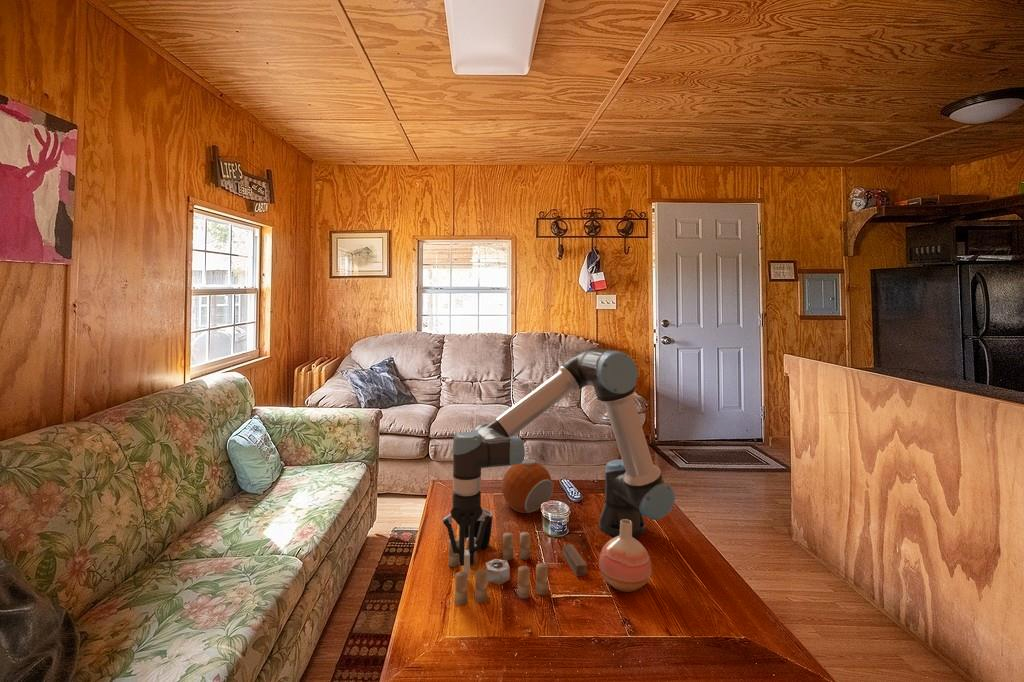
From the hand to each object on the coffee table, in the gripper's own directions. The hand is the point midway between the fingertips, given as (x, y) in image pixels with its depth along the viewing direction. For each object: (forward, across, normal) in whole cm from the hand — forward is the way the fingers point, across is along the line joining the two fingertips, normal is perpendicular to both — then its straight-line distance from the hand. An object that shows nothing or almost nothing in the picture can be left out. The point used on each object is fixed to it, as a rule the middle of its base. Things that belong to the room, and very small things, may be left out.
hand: (466, 575), depth 130 cm
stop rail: (+1, -32, -2) cm, 32 cm away
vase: (+2, -41, +10) cm, 43 cm away
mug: (+2, -6, -20) cm, 21 cm away
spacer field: (+1, -8, 0) cm, 8 cm away
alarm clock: (+2, -29, -45) cm, 53 cm away
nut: (+1, -9, 0) cm, 9 cm away
